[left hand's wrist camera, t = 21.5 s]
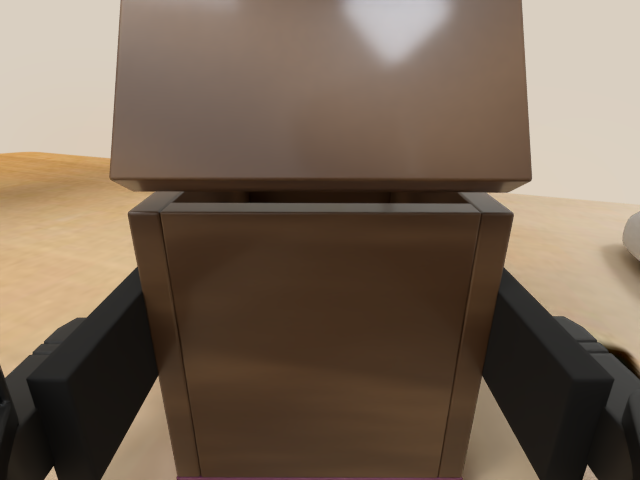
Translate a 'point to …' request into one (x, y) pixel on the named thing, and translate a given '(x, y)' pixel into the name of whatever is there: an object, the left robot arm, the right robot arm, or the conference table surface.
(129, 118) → the lid
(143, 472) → the conference table surface
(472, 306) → the chest
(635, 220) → the projector
